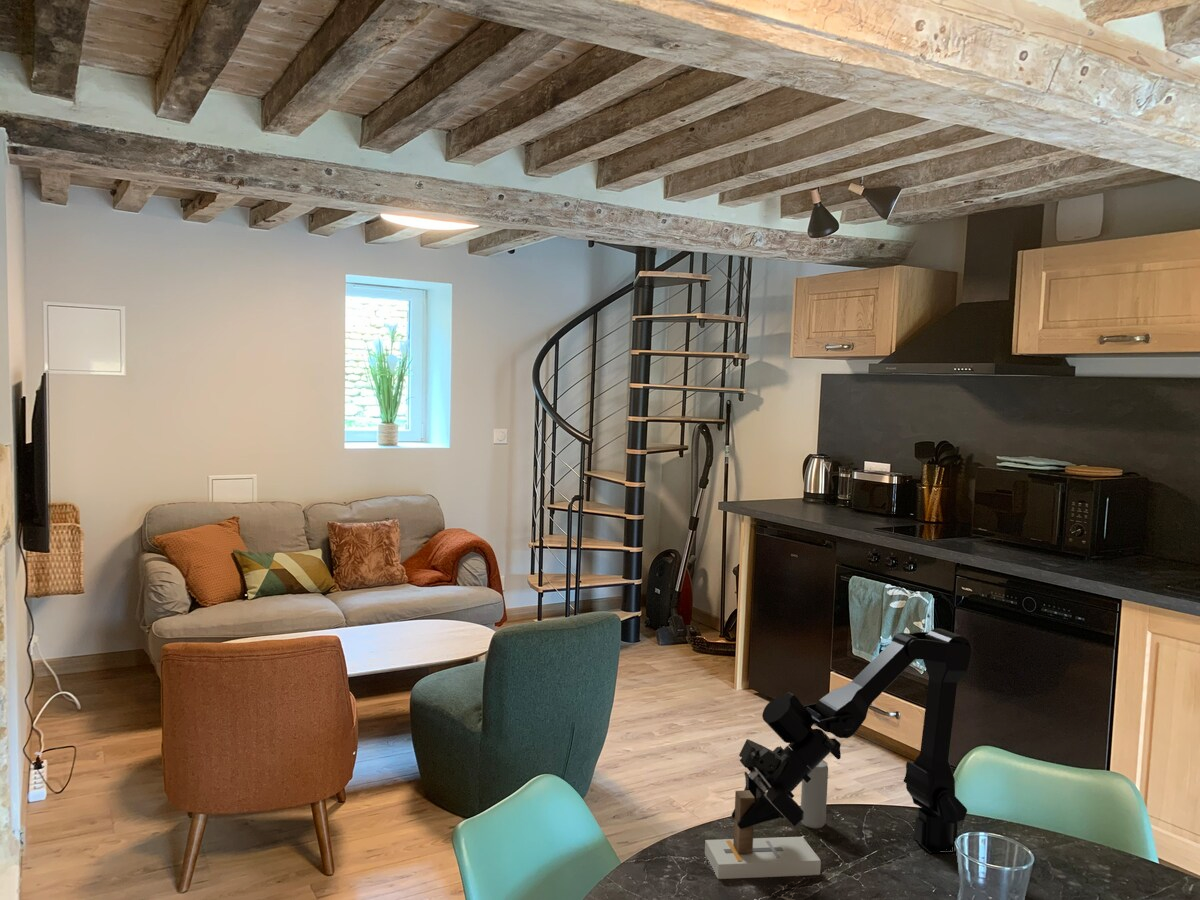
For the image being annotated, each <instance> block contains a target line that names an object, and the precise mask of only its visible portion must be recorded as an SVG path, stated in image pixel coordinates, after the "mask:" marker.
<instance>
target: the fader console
mask: <svg viewBox="0 0 1200 900" xmlns="http://www.w3.org/2000/svg"><path fill="white" fill-rule="evenodd" d="M704 842H705V843H704V855H705V857H706V859H707V861H708V860H709V861H708V863H709V862H710V863H709V865H710V864H711V865H710V867H711V866H712V867H711V869H712V868H713V869H712V871H713V870H714V871H713V873H714V872H715V873H714V874H715V877H716V878H717V879H718V880H726V879H731V880H732V879H752V878H768V877H769V878H773V877H775V878H777V877H794V876H795V877H797V876H801V877H802V876H819V875H821V866H822V865H821V864H822V862H821V859H820V857H819V856H818V855H817V853H816V852H815V851H814V850H813V849H812V847H811V846H810V845H809V843H808V842H807V840H806V839H805V838H804V837H803V836H787V837H786V836H784V837H783V836H780V837H753V852H752V853H741V854H738V852H737V850H736V849H735V847H734V845H733V842H734V838H729V839H728V838H727V839H705V840H704Z"/></svg>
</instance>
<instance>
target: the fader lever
mask: <svg viewBox="0 0 1200 900" xmlns="http://www.w3.org/2000/svg"><path fill="white" fill-rule="evenodd" d="M754 801H755V797H754V796H753V795H752V793H751V792H750V790H744V789H743V790H735V798H734V809H735V818H733V820H734V822H733V823H734V824H733V839H734V842H733V845H734V847H735V849H736V850H737V852H738V854H741V853H752V852H753V838H754V828H755V827H754V826H755V825H753V826H750V827H747V828H744V829H740V828H739V827H738V825H737V823H738V822H739V820H740V819H741V818H742V816H743V815H744V814H745V813H746V811H747V810H748V809H749V808H750V806H751V805H752V804H753V803H754Z"/></svg>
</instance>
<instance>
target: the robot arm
mask: <svg viewBox="0 0 1200 900" xmlns="http://www.w3.org/2000/svg"><path fill="white" fill-rule="evenodd" d="M972 656H973V646H972V644H971V643H970V641H969V640H968V639H967V638H966V637H965V636H962V635H959V634H957V633H954V632H951V631H948V630H946V629H943V628H938V627H936V628H933V629H931V630H930V631H926V632H925V631H913V632H907V633H906V632H899V633H896V634H895V635H894V636H893V637H892V638H891V641H890V643H888V645H887V646H885V648H884V649H882V651H880V652H879V654H878V655H877V656H875V657H874V658H873V660H871V662H869V664H867V666H865V667H864V669H862V670H861V671H860V672H859V674H857V676H855V677H854V678H853V679H852V680H851V681H849V683H847V684H846V685H843V686H841V687H838V688H835V689H833V690H831V691H829V692H828V693H827V694H825V695H824V696H823V697H821V698H819V700H818V701H817V702H812V703H809V704H805V705H803V704H802V703H801V702H800V700H799V698H798V697H797V696H796V695H795V694H794V693H792V692H790V691H787V692H786V693H785V694H784V695H783V696H778V697H776V698H773V700H771V701H769V702H768V703H767V704H766V705H765V706H764V709H763V712H762V720H763V721H764V722H765V723H766V725H768V727H769V728H771V730H773V732H774V733H775V734H776V735H777V736H778V737H779V738H780V739H781V740H782V741H783V742H784V743H786V744H788V745H786V746H785V748H783V747H782V746H781V745H780V746H777V747H776V748H774V750H771V749H769V748H768V747H766V746H764V745H762V744H759V743H758V742H755V741H753V740H751V739H746V740H745V741H744V744H743V746H742V747H741V750H740V752H739V754H738V756H739V757H740V760H739V762H740V763H741V764H742V765H743V767H744V768H745V769H746V768H747V770H748V771H749V773H748V772H747V771H744V777H745V787H744V789H743V791H744V790H750V792H751V793H752V795H753V796H754V797H755V801H754V803H753V804H752V805H751V806H750V808H749V809H748V810H747V811H746V813H745V814H744V815H743V816H742V818H741V819H740V820H739V822H738V823H737V825H738V827H739V828H740V829H744V828H747V827H750V826H753V825H754V826H755V825H759V824H762V823H765V822H768V821H773V820H775V819H777V820H778V819H782V820H783V819H785V818H786V819H787V821H789V823H791V824H792V825H793V826H794V828H797V826H798V825H800V823H802V822H801V821H802V820H803V818H804V811H803V810H802V809H801V805H799V804H798V803H797V801H795V799H794V797H795V795H794V794H793V793H792V792H793V791H794V790H795V789H796V787H798V786H799V785H800V784H801V783H802V780H803V779H804V780H805V781H806V782H807V783H808V782H809V781H810V780H811V778H810V777H809V776H808V774H809V773H810V772H811V770H813V769H814V768H815V767H816V766H817V765H818V764H819V763H820V762H821V761H822V760H825V758H826V757H827V756H828V755H829V754H831V755H832V756H833V757H834V758H835V759H837V760H840V759H842V757H841V746H842V745H841V744H842V743H840V741H838V740H837V739H836V738H839V739H850V738H851V737H852V736H854V735H855V734H856V732H858V730H859V728H860V727H861V726H862V724H863V723H865V720H866V718H867V715H868V710H869V707H870V706H871V705H872V703H873V702H874V701H875V700H876V699H877V698H878V697H879V696H880V695H881V694H882V693H883V692H884V691H885V690H886V689H887V688H888V687H889V686H890V685H891V684H892V683H894V681H895V680H896V679H897V678H898V677H899V676H900V675H901V674H902V673H903V672H904V671H906V669H907V668H908V667H909V666H910V665H911V664H912V663H913V662H914V661H915V660H922V661H923V664H924V667H925V670H926V673H927V675H928V684H927V692H926V699H925V700H926V701H925V707H924V716H923V717H924V718H923V725H922V735H921V744H920V752H919V754H918V755H917V757H916V758H915V760H914V761H909V760H908V761H906V764H905V768H906V769H905V771H906V772H905V776H904V779H903V783H905V786H906V787H905V788H906V791H907V792H908V794H909V795H910V796H911V799H912V801H913V804H914V805H916V806H917V807H919V808H918V814H917V816H916V817H915V826H914V827H915V828H914V834H913V833H912V838H913V839H914V840H915V841H916V840H917V841H918V842H917V841H916V842H917V843H918V844H919V845H920V846H921V847H922V848H923V849H924V848H925V849H926V850H927V851H928V852H927V851H926V850H925V849H924V850H925V851H926V852H927V853H929V852H931V853H930V854H933V853H932V852H940V851H950V850H951V851H952V847H953V851H954V841H955V838H956V837H957V838H958V832H959V831H958V829H959V822H963V821H965V818H966V816H967V813H968V808H966V806H965V805H964V803H962V802H961V801H960V799H958V797H956V780H955V779H956V778H955V776H954V772H953V770H952V767H951V765H950V760H949V759H950V751H951V750H950V749H951V743H952V741H951V740H952V733H953V723H954V717H955V708H956V699H957V698H956V697H957V692H958V691H957V690H958V685H959V682H960V681H961V680H962V678H963V677H964V676H965V675H966V673H967V672H968V671H969V666H970V662H971V659H972ZM813 726H816V727H817V728H812V727H813ZM825 732H826V733H830V734H832V735H833V736H834V737H833V738H831V737H829V736H828V734H826V733H825ZM835 737H836V738H835ZM731 817H732V819H734V818H735V808H734V809H733V811H732V813H731ZM946 849H947V850H946Z"/></svg>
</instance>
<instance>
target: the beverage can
mask: <svg viewBox="0 0 1200 900" xmlns="http://www.w3.org/2000/svg"><path fill="white" fill-rule="evenodd" d="M828 765H829V764H828V762H827V761H826V760H825V759H823V760H822V761H821V762H820V763H819V764H818V765H817V766H816V767H815V768H814V769H813V770H811V772H810V773H809V774H808V776H809V777H810V778H811V780H810V781H809V782H808V783H807V782H806V781H805V780H804V779H803V780H802V781H801V789H800V791H801V792H800V794H801V795H800V808H801V809H802V810H803V811H804V818H803V820H802V821H801V822H800V823H801V824H802V825H803V826H804V827H805V828H806V827H807V828H810V829H816V830H817V829H821V828H823V827H824V826H825V825H826V820H827V817H826V816H827V803H828V802H827V800H828V799H827V798H828V782H829V781H828V779H829V766H828Z"/></svg>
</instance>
